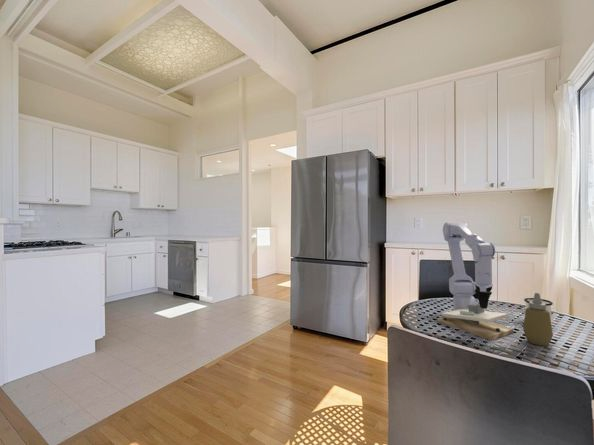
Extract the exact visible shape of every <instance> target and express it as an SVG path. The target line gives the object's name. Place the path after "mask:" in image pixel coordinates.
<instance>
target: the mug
mask: <svg viewBox="0 0 594 445" xmlns="http://www.w3.org/2000/svg"><path fill="white" fill-rule="evenodd" d="M533 298H534V297H525V298H524V299H523V301H524V302H525V308H524V312H525V311H526V308H528V307H529V302H533ZM541 301H542V303H544V304H546V310H547V311H549V312H550V319H551V320H552V306H553V304H554V303H553V301H551V300H547V299H543V298H541Z"/></svg>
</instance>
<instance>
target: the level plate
mask: <svg viewBox="0 0 594 445" xmlns="http://www.w3.org/2000/svg"><path fill="white" fill-rule="evenodd" d="M440 315H441V317H452V318H460V319H467V320H474V321H481V322H492V323H494V322H495V321H499V320H502V319H506V318H509V316H510V315H509V313H503V312H496V311H495V312H494V311H486V310H485V308H480V304H479V303H476V304H470V305H468V310H467V309H457V310H454V309H453V310H449V311H446V312H445V311H444V312H441V313H440Z"/></svg>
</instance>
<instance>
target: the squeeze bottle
mask: <svg viewBox="0 0 594 445" xmlns="http://www.w3.org/2000/svg"><path fill="white" fill-rule="evenodd" d="M532 298H533V302H529V307H528V308H526V307H525V308H526V311H525V310H524V321H523V329H522V330H523V332H524V335H525V339H526V340H527V342H528V343H530V344H533V345H536V346H539V347H547V346H549V345H550V343H551V341H552V339H553V336H554V333H553V332H554V331H553V327H552V318H551V319H550V312H549V311H547V310H546V304H544V303H542V301H541V299H542V298H541V295H540V293H539V292H535V293H534V295H533V297H532Z"/></svg>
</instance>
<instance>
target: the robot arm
mask: <svg viewBox="0 0 594 445" xmlns="http://www.w3.org/2000/svg"><path fill="white" fill-rule="evenodd" d="M442 233H443V238H444V241H446V242H447V244H448V249H449V255H450V260H451V265H452V271H453V275H452V276H451V277H449V279H448V290H449V292H450V293H451V295H453V310H457V309H467V310H468V305H470V304H477V302H476V298H475V297H474V296H473V295H475V294H476V296H477V299H478V304H480V308H484V310H487V309H488V305H489V300H490V298H491V295H492V294H493V291H492V290H493V286H494V285H493V267H492V266H493V262H492V260H493V259H492V258H493V257H494V256H495V254H496V247H495V245H494V244H493V243H492V242H486V241H485V240H483V239H482V237H480V236H479V235H478V234H477V233H472V232H471V231H470V229H469V224H467V222H465V221H463V222H445V223H444V224H443V226H442ZM462 241H464V242H465V244H466V246H468V247H469V248H470V250H471V253H472V258H473V262H474V268H475V269H474V278H475V280H473V278H472V277H471V276H469V275H468V274H467V273H466V268H465V263H464V258H463V253H462V249H461V244H460V242H462Z"/></svg>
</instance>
